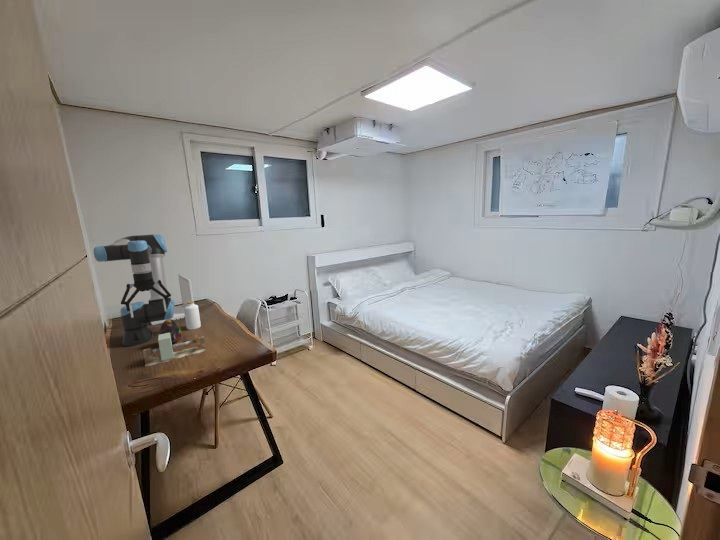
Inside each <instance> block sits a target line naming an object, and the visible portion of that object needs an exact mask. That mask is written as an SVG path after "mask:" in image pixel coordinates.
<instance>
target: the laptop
mask: <svg viewBox="0 0 720 540" xmlns="http://www.w3.org/2000/svg"><path fill="white" fill-rule="evenodd" d="M177 275H178V281H179V283H178V284H179V289H180V295H181V303H182V304H179V305H174V316H173V317H172V318H171V319H172V320H174V321H176V319H177V320H180V318H181V319H185V318H184V317H185V314H184V307H185V306H187V302H190V301H194V302H195V300H194V292H193V286H192V285H193V284H192V280H191V279H189V278H187V277H185V276H183V275H182V274H177ZM166 320H167V319H166ZM164 321H165V320H161V321H155V322H150V324H151V326H156V325H159V324H163V322H164Z"/></svg>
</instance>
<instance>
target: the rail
mask: <svg viewBox="0 0 720 540" xmlns="http://www.w3.org/2000/svg"><path fill="white" fill-rule="evenodd" d="M193 344H195V346H193V347H190V348H186V349H182V350H177V351H173V358H171V359H167V360H163V361H162V359H161V354H159V355H156V356H153V354H155V353H160V348H159V347H158V348H157V347H156V348H153V349H152V347H148V348H145V349H143V350H142V354H143V357H144V358H143V359H144V363H145V364H144V367H150V366H154V365H159V364H162V363H166V362H170V360H171V361H175V360H178V358H179V359H182V357H183V358H186V357H185V356H187V357H190V356H194V355H198V354H202V352H203V353H205V352H206V353H207V349H206V341H205V336H204V335H202V336H201V335H200V336H198V334H197V333H196V334H194V339H193V340H188V341H184V342H179V343H178V344H174V345H172V348H173V349H176V348H179V347H185V346H189V345H193ZM174 359H175V360H174Z"/></svg>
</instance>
